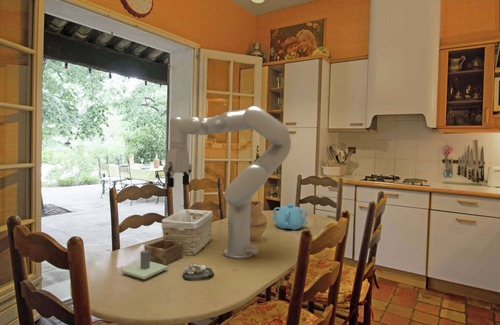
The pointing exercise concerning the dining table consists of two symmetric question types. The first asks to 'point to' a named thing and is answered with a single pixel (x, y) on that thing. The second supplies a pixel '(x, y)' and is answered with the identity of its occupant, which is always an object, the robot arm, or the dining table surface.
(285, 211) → the decorative pot
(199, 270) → the grey oval ornament
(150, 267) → the lid
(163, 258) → the box
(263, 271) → the dining table surface
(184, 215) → the storage basket
